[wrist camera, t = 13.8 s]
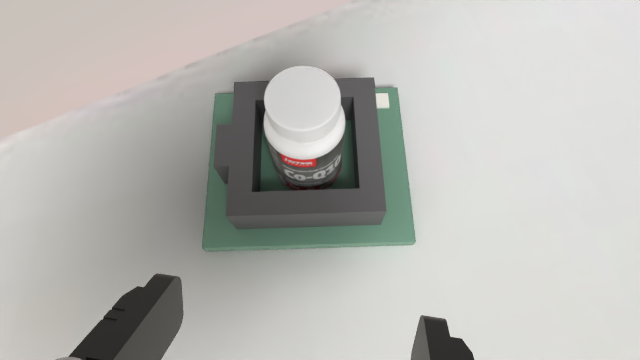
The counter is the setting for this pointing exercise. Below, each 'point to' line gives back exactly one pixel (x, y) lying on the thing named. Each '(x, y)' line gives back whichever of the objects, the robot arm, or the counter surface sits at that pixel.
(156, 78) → the counter surface
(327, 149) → the pill bottle
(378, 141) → the socket board
